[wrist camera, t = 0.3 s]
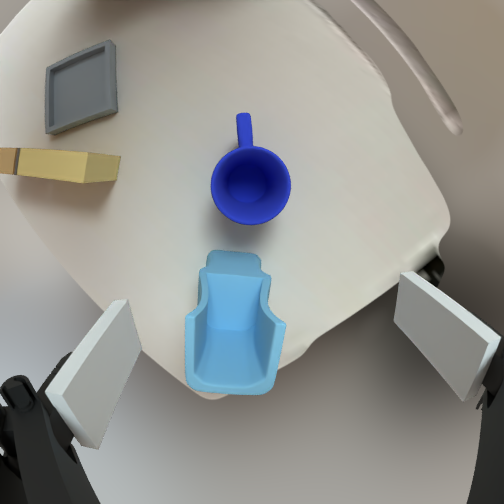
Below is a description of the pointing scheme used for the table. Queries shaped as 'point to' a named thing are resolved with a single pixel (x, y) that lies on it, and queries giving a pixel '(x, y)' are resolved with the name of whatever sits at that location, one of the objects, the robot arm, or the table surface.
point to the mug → (250, 180)
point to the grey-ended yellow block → (66, 165)
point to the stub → (8, 160)
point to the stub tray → (81, 88)
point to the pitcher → (232, 328)
